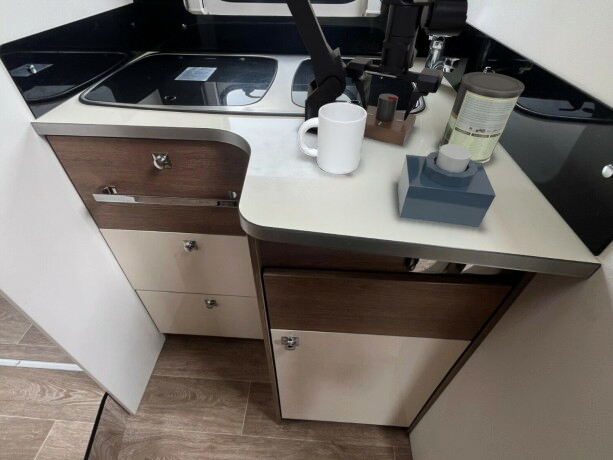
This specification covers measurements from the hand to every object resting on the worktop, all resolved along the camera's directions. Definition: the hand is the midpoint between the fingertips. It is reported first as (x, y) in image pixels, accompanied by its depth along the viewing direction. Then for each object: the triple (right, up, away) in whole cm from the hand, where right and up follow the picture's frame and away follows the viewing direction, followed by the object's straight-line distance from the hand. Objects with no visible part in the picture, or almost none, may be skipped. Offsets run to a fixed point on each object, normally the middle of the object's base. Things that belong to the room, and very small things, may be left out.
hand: (384, 115), depth 70 cm
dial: (0, 0, 0) cm, 1 cm away
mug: (-13, -13, -8) cm, 20 cm away
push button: (+4, -16, -22) cm, 28 cm away
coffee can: (+16, -9, -4) cm, 18 cm away
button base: (+4, -21, -17) cm, 27 cm away
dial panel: (0, -3, +2) cm, 4 cm away
